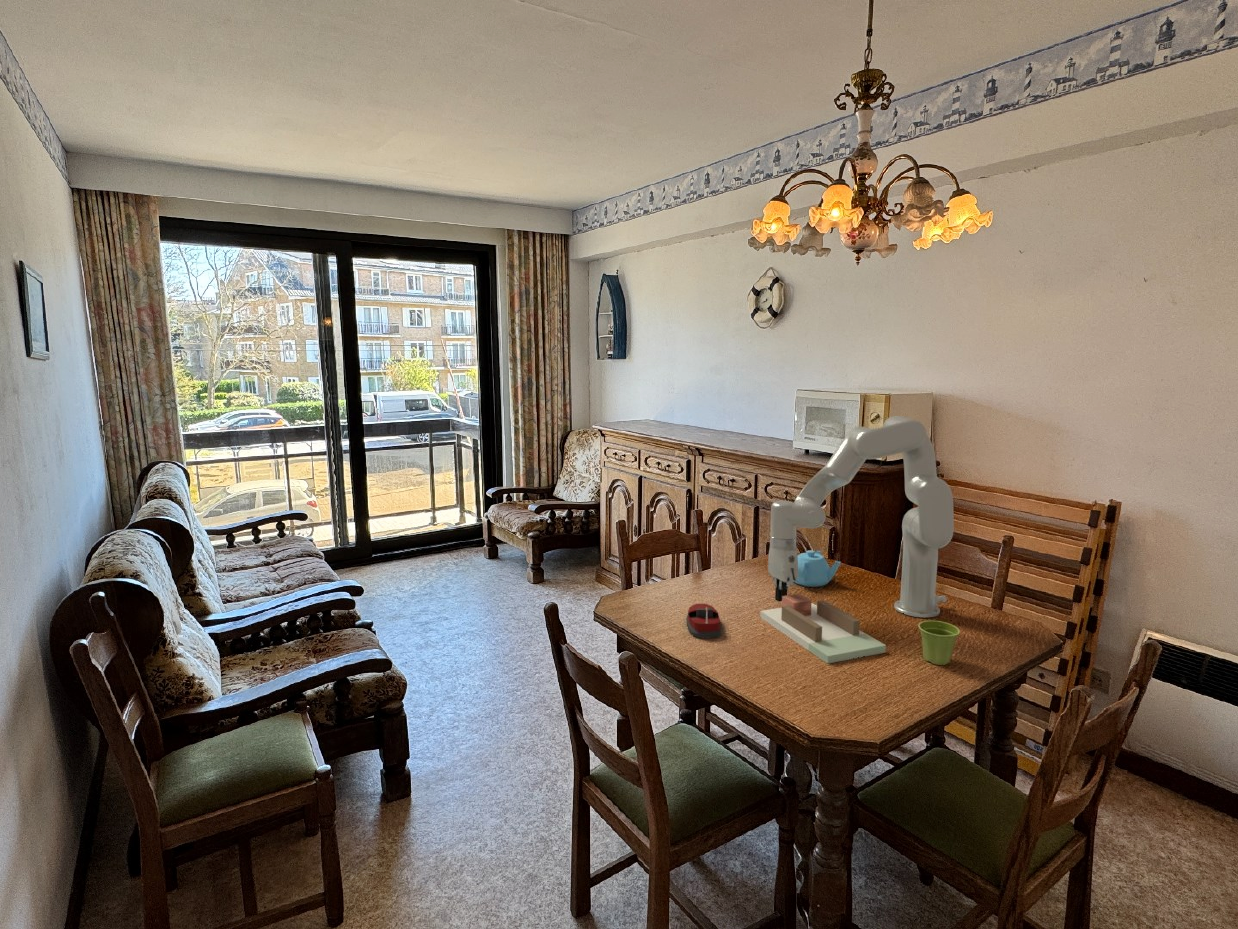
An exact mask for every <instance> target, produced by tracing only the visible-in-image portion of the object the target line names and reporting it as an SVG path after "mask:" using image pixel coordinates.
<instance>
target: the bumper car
mask: <svg viewBox="0 0 1238 929" xmlns="http://www.w3.org/2000/svg"><path fill="white" fill-rule="evenodd" d="M685 619H686V628H687V627H688V628H687V630H688V633H690V635H691V636H692V635H693V636H692V637H694V636H695V638H697V639H717V638H719V637H721V635H722V631H723V627H722V626H723V625H722V622H721V618H720V615H719V612H718V611H717V610H716V609H715V607H713V606H712V605H710V604H707V603H695V604H692V605H691V606H690V607H689V608H688V610H687V614H686V618H685Z"/></svg>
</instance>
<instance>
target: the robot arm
mask: <svg viewBox="0 0 1238 929" xmlns="http://www.w3.org/2000/svg"><path fill="white" fill-rule="evenodd" d="M897 454H901V456H902V459H903V470H904V492H905V496H906V498H907V499H908V501H910V502H912V503H913V504H915V505H917V507H913V508H911V509H909V510H907V512H906V513H905V514H904V515H903V518H902V522H901V523H902V524H901V529H902V530H901V531H902V542H903V545H902V546H903V547H902V550H903V551H902V564H901V567H902V568H901V578H900V579H901V580H900V581H901V582H900V598H899V600H896V601H895V602H894V604H893V605H894V606H893V607H894V609H895V610H896V611H897V612H899V613H901V614H903V613H904V615H906V616H908V617H909V616H910V617H915V618H923V619H925V618H927V619H928V618H934V617H938V616H939V615H940V614H941V609H940V607H939V604H940V603H946V602H947V601H948V598H947V596H946V595H945V594H944V595H937V594H936V588H937V587H936V586H937V585H936V584H937V576H938V574H937V573H938V562H939V560H938V559H939V549H942V548H944V547H945V546H947V545H948V544H949V543H950V542H951V540H952V539H953V536H954V532H955V531H954V530H955V529H954V527H955V526H954V524H955V523H954V521H955V520H954V516H955V515H954V514H955V513H954V498H953V496H954V495H953V492H952V490H951V487H950V485H949V484H948V483H947V482H946V481H945V480H944V479H941V478H940V477H938V474H937V473H938V472H937V462H936V453H935V449H934V446H933V443H932V441H931V439H930V438H929V436H928V434H927V428H926V427H925V425H924V424H923V423H922V422H920V421H919V420H917V419H915V418H914V419H913V418H910V417H906V416H902V415H894V416H889V417H888V418H887V419H886V420H885V421H884V423H883V424H882V426H881V427H876V428H870V427H866V426H856V427H854V428H852V429H851V430H850V431H849V432H847V434H846V435H845V437H844V439H843V440H842V441H841V443H840V444H839V445H838V447H837V448H836V450H834V453H833V454H832V455H831V457H830V459H829V460H828V461H827V463H826V464H825V465H824V466H823V467H822V468H821V469H820V470H819V471H818V472H817V473H816V474H815V475H814V476H813V477H812V478H811V479H809V480H808V482H807V483H806V484H805V485H804V486H803V488H802V489H801V491H800V493H799V494H798V496H797V497H796V498H795V500H794V502H793V501H789V500H777V501H776V500H775V501H773V502H772V503H771V505H770V506H771V507H770V528H769V529H770V531H769V532H770V537H769V550H768V559H767V563H768V564H767V572H768V574H769V575H770V578H772V579H773V581H774V582H773V583H774V587H775V588H774V589H775V590H774V591H775V592H774V595H775V596H774V599H775V601H777V602H781V603H782V596H786V595H788V589H789V588H791V587H794V581H793V580H795V581H797V580H798V551H797V548H796V547H797V545H796V543H797V528H804V529H817V528H820V527H821V526H822V525H824V523H825V521H826V517H827V516H826V512H825V510H824V508H823V507H822V503H823V502H824V501H825V499H826V498H828V496H829V495H830V494H831V493H832V492H834V491H835V490H836V489H839V488H841V487H843V486H846V485H848V484H850V482H852V480H853V479H854V478H855V476H856V475H857V473H858V472H859V470H860V469H861V467H862V466H863V465H864V464H865V462H866V460H876V459H881V458H887V457H890V456H894V455H897Z"/></svg>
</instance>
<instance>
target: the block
mask: <svg viewBox="0 0 1238 929" xmlns="http://www.w3.org/2000/svg"><path fill="white" fill-rule="evenodd" d="M811 603H813V602H812V600H811V599H810V598H808V597H807V596H804V595H802V594H801V593H795V594H787V595H786V596H782V601H781V608H782V607H783V606H789V607H791V608H792V609H794V610H796V611H797V612H799V613H801V614H802V615H804V616H809V615H811Z"/></svg>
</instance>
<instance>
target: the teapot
mask: <svg viewBox="0 0 1238 929" xmlns="http://www.w3.org/2000/svg"><path fill="white" fill-rule="evenodd" d="M821 553H822V551H821V550H806V552H801V553H799V554H797V556H798V580H797V581H795V580H793V583H795V584H797V585H798V586H799V585H800V586H802V587H803V586H804V587H809V588H810V587H811V588H813V587H814V588H817V587H823V586H825V585H827V584H828V583H830V581H831V580H832V579H833V578H834V577H835V575H836V573H837V571H838V569H839V567H840V565H841V562H842V561H838V560H835V561H834V563H833V564H832V566H831V567H830V565H829V564H828V561H827V560H826V558H825V557H824V556H823V555H822V554H821Z"/></svg>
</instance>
